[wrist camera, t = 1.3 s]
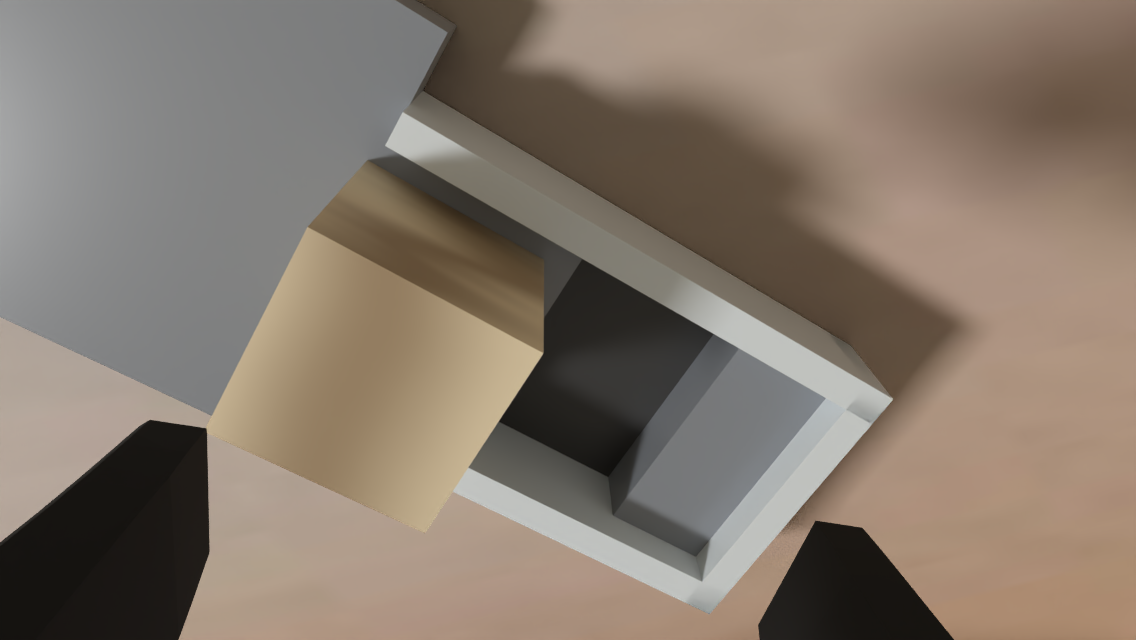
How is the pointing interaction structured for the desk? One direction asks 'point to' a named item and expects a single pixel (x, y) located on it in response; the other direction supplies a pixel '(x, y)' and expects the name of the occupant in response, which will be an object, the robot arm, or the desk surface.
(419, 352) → the maple block
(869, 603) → the robot arm
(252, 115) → the trap channel
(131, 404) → the desk surface
